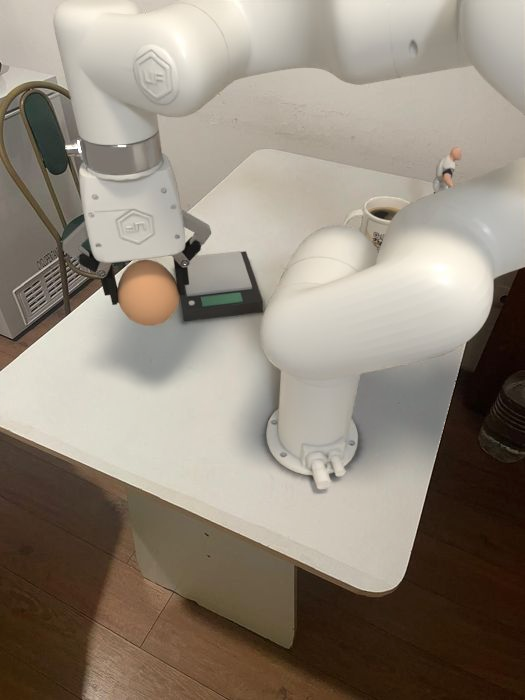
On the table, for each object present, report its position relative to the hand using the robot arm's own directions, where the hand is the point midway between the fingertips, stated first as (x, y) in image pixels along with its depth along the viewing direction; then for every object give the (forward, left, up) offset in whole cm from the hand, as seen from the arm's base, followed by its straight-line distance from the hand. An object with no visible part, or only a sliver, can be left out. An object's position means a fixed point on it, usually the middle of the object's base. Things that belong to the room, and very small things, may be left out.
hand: (148, 292), depth 63 cm
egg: (0, 0, -5) cm, 5 cm away
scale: (+25, -11, -20) cm, 34 cm away
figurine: (+37, -61, -20) cm, 74 cm away
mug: (+30, -44, -20) cm, 57 cm away
